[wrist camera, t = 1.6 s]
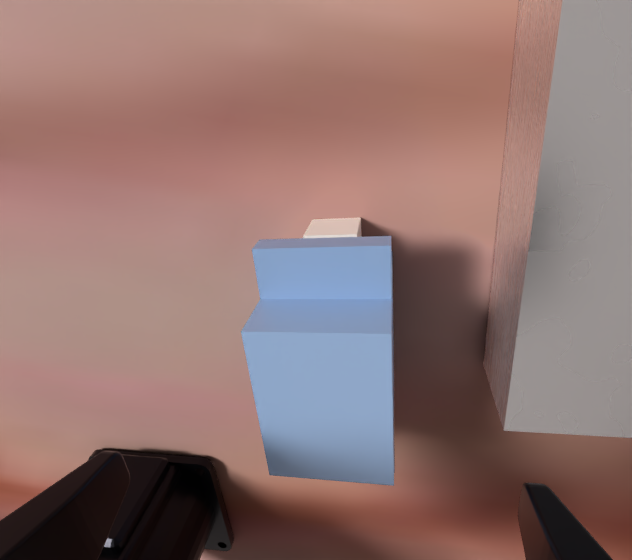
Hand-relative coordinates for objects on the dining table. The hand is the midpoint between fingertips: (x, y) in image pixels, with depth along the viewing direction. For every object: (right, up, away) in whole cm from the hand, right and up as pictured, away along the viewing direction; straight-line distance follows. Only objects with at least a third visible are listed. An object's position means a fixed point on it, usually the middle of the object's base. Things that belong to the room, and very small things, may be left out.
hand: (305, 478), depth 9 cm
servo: (+1, +3, +6) cm, 7 cm away
